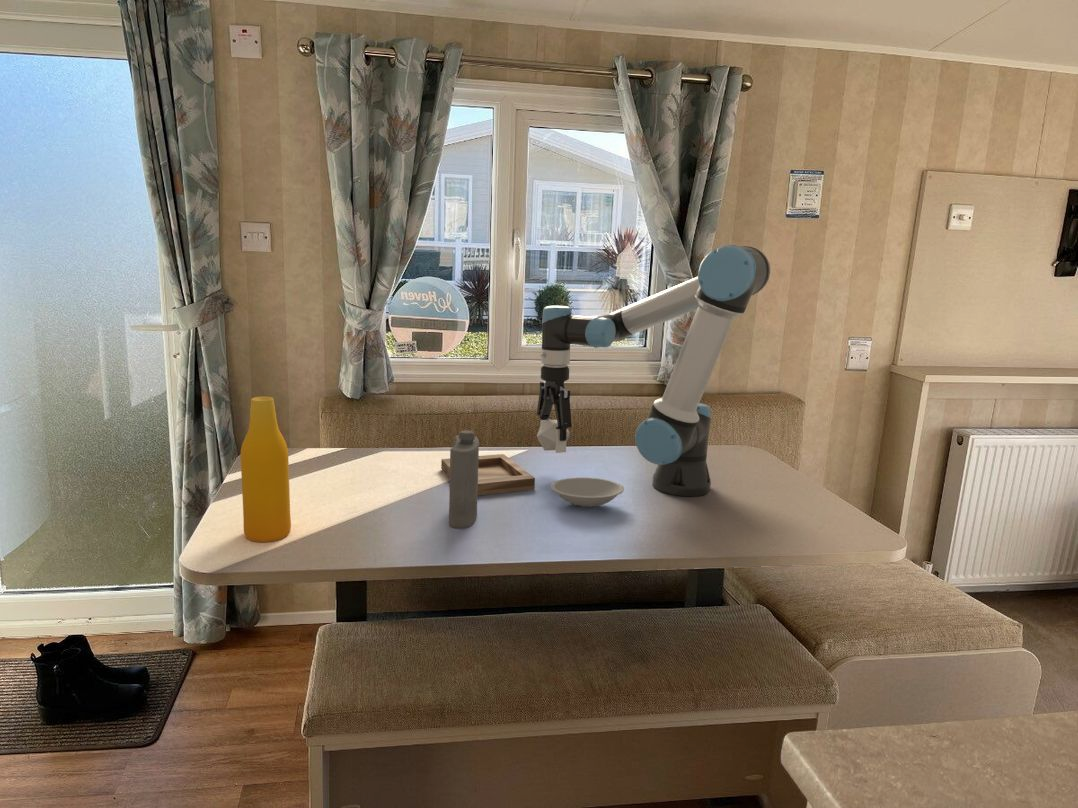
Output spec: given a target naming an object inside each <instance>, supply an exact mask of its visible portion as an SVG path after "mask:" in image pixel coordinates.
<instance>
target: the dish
mask: <svg viewBox="0 0 1078 808" xmlns="http://www.w3.org/2000/svg"><path fill="white" fill-rule="evenodd" d="M550 488H551V490H552V491H553V492H555V493H556V494H557V495H558V496H559V497H560V498H561V499H562V500H564V501H565V502H567V503H568V504H572V505H575V506H579V507H583V508H585V509H587V508H590V507H597V506H602V505H605V504H607V503H609V502H611V501H613V500H614V499H615V498H616V497H618V495H620V494H621V495H622V493H623V492H624V491H625V489H624V488H625V487H624V486H623V485H622V484H620V483H618V482H616V481H613V480H610V479H604V478H597V477H585V476H584V477H583V476H582V477H581V476H580V477H568V478H562V479H559V480H556V481H553V482H552V484H551V485H550Z"/></svg>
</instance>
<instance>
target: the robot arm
mask: <svg viewBox="0 0 1078 808" xmlns="http://www.w3.org/2000/svg"><path fill="white" fill-rule="evenodd" d="M770 276H771V265H770V262H769V260H768V258H767V256H766V255H765V253H764V252H762V250H760V249H758V248H756V247H753V246H746V245H745V246H740V245H735V244H728V245H723V246H719V247H717V248H716V249H713V250H711V251H709V252H708V254H706V256H704V258H703V259H702V261H701V262H700V265H699V267H698V273H697V276H695V277H693V278H691V279H688V280H686V281H684V282H681V283H679V284H677V285H674V286H672V287H670V288H667V289H664V290H662V291H660V292H658V293H656V294H653V295H650V296H648V297H646V298H643V299H641V300H639V301H637V302H634V303H632V304H629V305H627V306H624V307H622V308H620V309H617V310H615V311H612V312H611V313H607V314H600V315H590V316H589V315H585V316H584V315H574V314H573V313H572V312H573V311H572V308H571V307H570V306H566V305H547V306H545V307H543V310H542V319H541V320H542V321H541V352H540V354H539V356H540V358H541V359H540V362H541V364H542V365H541V366H540V379H541V380H542V381H539V394H538V401H537V402H538V403H537V408H536V416H539V419H540V425H541V424H542V422H543V420H551V419H552V416H551V412H552V409H553V406H554V411H555V412H554V413H555V417H556V420H557V424H558V427H556V450H555V453H557V454H558V453H559V454H560V453H566V452H567V442H566V439H567V429H570V428H572V424H573V423H572V414H571V389H566V388H565V382H567V381H568V380H569V379H570V366H569V365H570V361H571V345H575V346H583V347H590V348H591V347H592V348H595V349H598V348H605V349H606V348H609V347H611V345H612V344H613V342H621V341H624V340H625V339H627V338H629V337H630V336H633V335H635V334H637V333H641V332H642V331H645V330H648V329H650V328H653V327H655V326H658V325H660V324H663V323H665V322H669V321H670V320H673V319H676V318H678V317H681V316H683V315H686V314H689V313H691V312H693V311H695V313H694V316H693V318H692V321H691V324H690V326H689V329H688V331H687V333H686V336H685V339H684V341H683V344H682V346H681V349H680V352H679V353H678V357H677V358H676V362H675V364H674V367H673V369H672V372H671V375H670V377H669V380H668V382H667V385H666V387H665V390H664V393H663V395H662V397H660V398H657V399H655V400H654V401H653V402H652V403H653V404H652V405H651V408H650V411H649V413H648V415H647V417H646V419H645V420H643V421H642V422H641V423H640V424H639V425H638V427H637V428H636V430H635V435H634V441H635V447H636V448H637V450H638V453H639V454H640V455H641V456H642V458H644V460H646V461H647V462H649V463H652V464H654V465H657V466H656V469H655V471H654V473H653V474H652V482H651V484H652V487H653V488H654V489H656V490H658V491H660V492H661V493H665V494H669V495H673V496H680V497H699V496H704V495H707V494H709V493H710V491H711V485H712V481H711V477H710V472H709V468H708V464H707V463H708V462H707V456H708V446H709V437H710V436H709V435H710V428H711V427H710V425H711V420H712V417H711V414H712V413H711V412H712V409H711V407H710V406H709V405H708V404H705V403H701V402H700V401H701V400H702V398H703V395H704V393H705V390H706V389H707V388H706V387H707V385H708V383H709V381H710V378H711V376H712V374H713V370H714V369H715V366H716V363H717V361H718V359H719V356H720V353H721V351H722V349H723V346H724V344H725V342H726V339H727V337H728V335H729V332H730V330H731V327H732V325H733V323H734V320H735V318H738V317H740V316H742V315H744V314H745V311H746V309H747V307H748V304H749V303H750V300H751V297H752V296H754V295H757V294H758V293H760V292H761V291H762V290H763V289H764V288H765V287H766V285H767V284H768V282H769V280H770Z"/></svg>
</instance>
